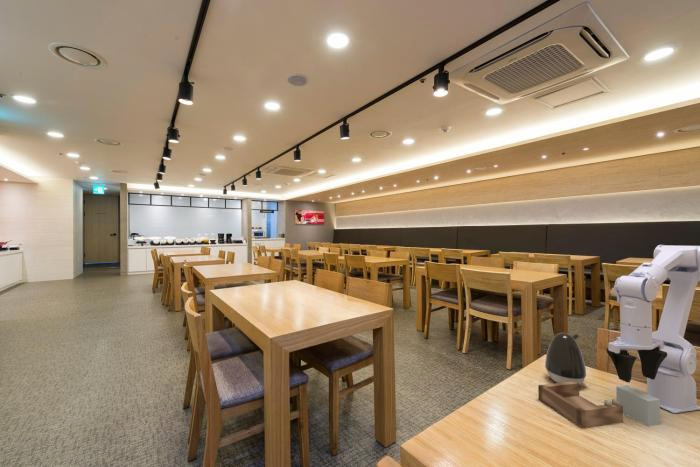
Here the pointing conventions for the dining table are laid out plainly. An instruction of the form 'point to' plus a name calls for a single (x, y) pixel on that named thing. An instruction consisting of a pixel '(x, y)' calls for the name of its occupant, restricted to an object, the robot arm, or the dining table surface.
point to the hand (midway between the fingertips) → (636, 379)
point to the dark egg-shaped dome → (565, 359)
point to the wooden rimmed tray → (579, 405)
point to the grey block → (639, 405)
